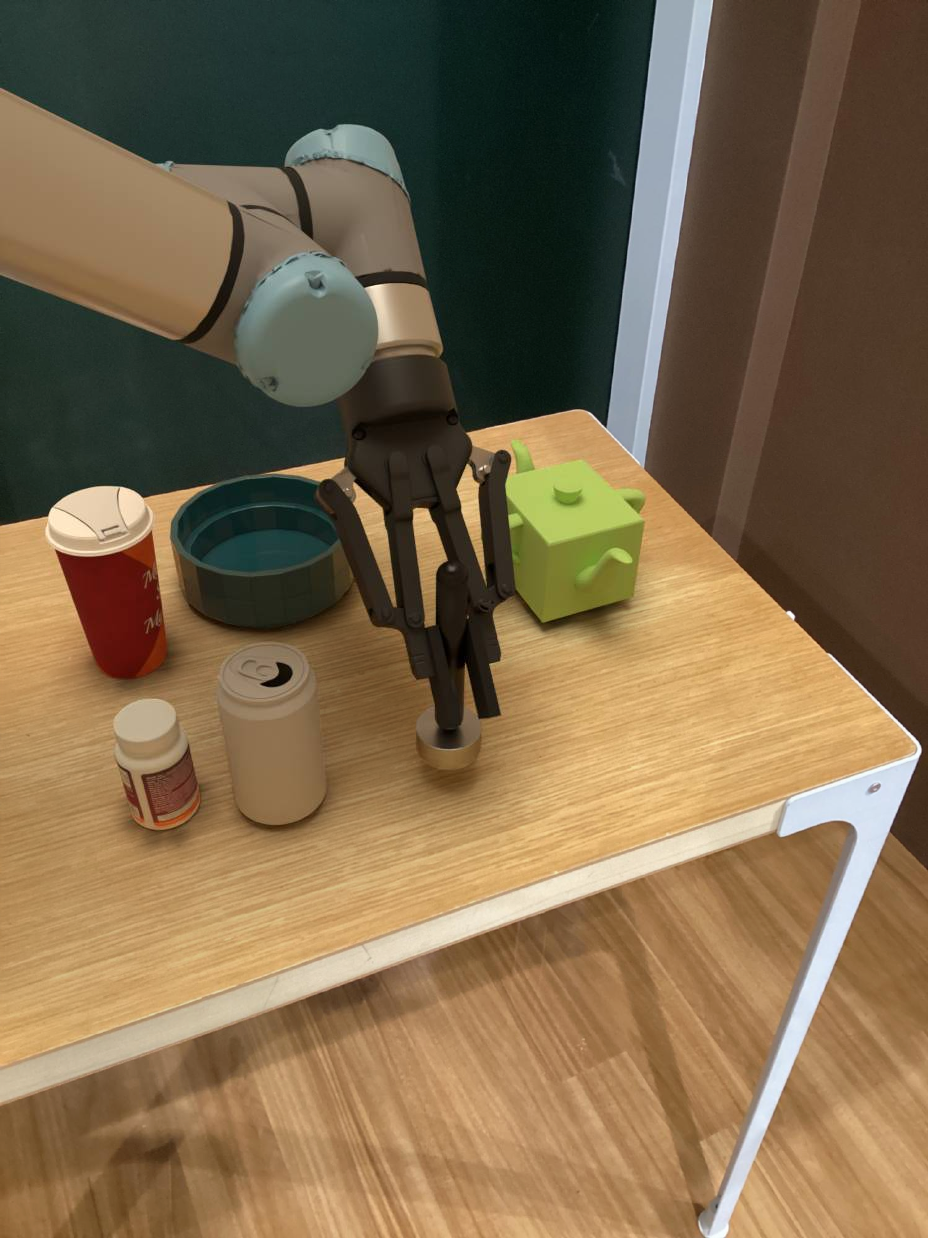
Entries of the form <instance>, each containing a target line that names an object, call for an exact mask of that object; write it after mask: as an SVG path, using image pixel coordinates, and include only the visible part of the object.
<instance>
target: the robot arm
mask: <svg viewBox="0 0 928 1238" xmlns="http://www.w3.org/2000/svg"><path fill="white" fill-rule="evenodd" d="M411 201H412V200H411V198H410V194H409V191H408V190H407V187H406V185H405V181H404V178H403V174H402V170H401V167H400V164H399V162H398V159H397V156H396V154H395V150H394V148H393V147H392V145H391V143H390V142H389V140H388V139H387V138H386V137H385V136H384V135H383V134H382V133H380V132H379V131H376V130H375V129H373V128H371V127H368V126H364V125H360V124H352V123H351V124H350V123H346V124H345V123H344V124H337V125H336V126H335V127H333V128H332V129H324V128H318V129H316V130H313V131H311V132H309V133H307V134H306V135H304V136H302V137H301V138H299V139H297V140H296V142H294V144H293V145H292V146H291V147H290V148H289V150H288V151H287V153H286V156H285V160H284V166H283V167H282V166H281V167H280V166H278V167H269V166H240V165H239V166H238V165H217V164H216V165H213V164H182V163H175V162H174V161H173V160H167V161H165V162H164V163H154V162H151V161H149V160H148V159H145V158H143V157H141V156H139V155H137V154H136V153H133V152H131V151H129V150H127V149H125V148H123V147H121V146H119V145H117V144H115V143H113V142H111V141H109V140H107V139H105V138H102V137H101V136H99V135H97V134H94V133H93V132H92V131H89V130H86V129H84V128H82V127H80V126H79V125H76V124H75V123H72V122H70V121H68V120H67V119H65V118H62V117H60V116H58V115H56V114H55V113H53V112H50V111H48V110H46V109H44V108H43V107H40V106H38V105H36V104H34V103H32V102H30V101H28V100H26V99H24V98H22V97H20V96H18V95H16V94H14V93H12V92H10V91H8V90H6V89H4V88H2V87H0V276H2V277H4V278H8V279H10V280H12V281H16V282H18V283H21V284H23V285H25V286H28V287H32V288H34V289H36V290H39V291H42V292H45V293H47V294H49V295H53V296H55V297H58V298H61V299H63V300H65V301H68V302H71V303H73V304H77V305H78V306H82V307H85V308H87V309H90V310H92V311H95V312H98V313H101V314H103V315H106V316H108V317H110V318H113V319H117V320H119V321H121V322H124V323H127V324H130V325H131V326H134V327H137V328H140V329H143V330H146V331H148V332H151V333H153V334H156V335H158V336H162V337H164V338H167V339H169V340H172V341H175V342H176V343H177V342H178V343H180V344H183V345H185V346H187V347H189V348H192V349H193V350H196V351H199V352H202V353H203V354H207V355H209V356H212V357H215V358H217V359H220V360H222V361H225V362H227V363H230V364H232V365H234V366H237V368H238V370H239V371H240V373H241V375H242V376H243V377H244V378H245V380H246V381H248V382H249V383H251V385H252V386H254V387H255V388H257V389H260V390H261V391H262V392H263V393H264V394H265V395H266V396H268V397H269V398H271V399H272V400H274V401H276V402H279V403H280V404H284V405H287V406H292V407H297V408H304V407H305V408H308V407H309V408H310V407H316V406H320V405H325V404H327V403H330V402H332V401H334V400H336V401H337V406H338V411H339V414H340V415H339V416H340V419H341V423H342V424H341V425H342V428H343V433H344V438H345V442H346V453H345V456H344V457H345V458H344V461H343V468H342V469H341V470H340V471H339V472H337V473H336V474H335V475H334V476H332V477H331V478H325V479H322V480H321V481H320V482H321V483H320V484H319V486H318V488H317V490H316V492H315V495H314V498H315V501H316V503H317V504H318V505H319V506H320V507H321V508H322V510H323V511H324V512H325V513H326V514H327V516H328V517H329V518H330V519H331V520H332V522H333V523H334V526H335V528H336V531H337V534H338V536H339V539H340V542H341V544H342V547H343V550H344V552H345V555H346V558H347V560H348V563H349V566H350V568H351V571H352V574H353V576H354V578H353V580H354V581H355V584H356V587H357V589H358V592H359V595H360V597H361V599H362V603H363V605H364V608H365V611H366V613H367V616H368V619H369V622H370V623H371V625H372V626H373V627H375V628H378V629H379V628H380V629H381V628H385V629H392V630H397V631H398V632H399V633H400V634H401V635H402V637H403V641H404V645H405V649H406V655H407V658H408V663H409V668H410V672H411V675H412V676H413V678H414V679H415V681H416V682H418V681H422V680H427V679H428V683H429V688H430V692H431V696H432V700H433V706H435V710H436V714H437V718H438V723H439V727H440V729H444V728H452V727H456V726H460V725H461V721H460V717H459V712H458V708H457V704H456V699H455V695H454V691H453V686H452V682H451V677H450V673H449V669H448V664H447V660H446V656H445V651H444V647H443V643H442V638H441V634H440V630H439V625H435V624H433V625H428V626H426V625H425V621H426V615H425V607H424V598H423V591H422V583H421V576H420V575H421V574H420V569H419V568H420V567H419V560H418V551H417V544H416V535H415V529H414V510H416V509H426V510H428V513H429V517H430V518H431V521H432V522H433V523H434V525H435V527H436V530H437V533H438V535H439V540H440V542H441V545H442V548H443V551H444V554H445V558H446V561H448V560H456V561H459V562H461V563H462V564H463V565H464V566H465V567H466V569H467V571H468V602H467V632H466V661H465V668H466V671H467V675H468V679H469V684H470V688H471V692H472V696H473V700H474V706H475V710H476V714H477V716H478V719H480V720H485V719H486V720H488V719H492V718H497V717H502V712H501V709H500V708H501V707H500V704H499V699H498V695H497V690H496V687H495V683H494V679H493V673H492V669H491V665H492V664H495V663H500V662H501V658H502V650H501V646H500V642H499V638H498V633H497V629H496V625H495V624H496V623H495V622H494V621H495V619H494V611H495V609H496V608H497V607H498V606H500V605H501V604H502V603H504V602H506V601H507V600H509V599H510V598H512V597H513V596H514V595H515V593H516V588H515V578H514V568H513V558H512V548H511V537H510V527H509V517H508V507H507V497H506V487H505V484H506V480H507V476H509V472H510V468H511V465H512V456H511V454H510V452H509V451H508V450H505V449H498V450H497V451H496V452H493V451H490V450H488V449H484V448H481V447H478V446H475V445H473V441H472V439H471V437H470V435H469V434H468V433H467V432H466V431H465V429H464V428H463V426H462V425H461V423H460V418H459V412H458V408H457V403H456V398H455V395H454V391H453V387H452V381H451V378H450V374H449V373H450V372H449V369H448V365H447V363H446V362H445V361H443V360H442V359H441V358H440V357H441V355H442V353H443V351H444V345H443V343H442V342H443V341H442V338H441V335H440V330H439V326H438V322H437V319H436V315H435V310H434V307H433V303H432V299H431V295H430V291H429V288H428V283H427V277H426V273H425V269H424V264H423V260H422V256H421V255H422V254H421V250H420V246H419V242H418V237H417V234H416V228H415V223H414V220H413V215H412V211H411V210H412V209H411V205H412V203H411ZM467 465H468V466H469V467H470V468H471V473H472V474H471V475H472V479H473V481H474V482H476V484H478V493H477V499H478V501H477V502H478V510H479V521H480V531H481V532H480V534H481V533H482V540H481V542H482V552H483V553H482V554H483V563H484V573H485V578H484V574H483V572H482V571H483V570H482V569H481V566H480V563H479V562H480V561H479V560H478V557H477V553H476V550H475V548H474V545H473V542H472V539H471V536H470V533H469V529H468V526H467V524H466V521H465V518H464V515H463V512H462V502H461V499H460V497H459V496H460V495H459V493H458V490H457V489H458V486H459V483H460V481H461V479H462V477H463V475H464V472H465V470H466V468H467ZM354 484H355V485H357V486H358V488H359V489H361V490H362V491H363V492H364V493H365V494H366V495H368V496H369V498H371V499H372V500H373V501H374V502H375V503H376V504H377V505H378V506H379V507H381V509H382V515H383V523H384V529H385V530H386V534H387V542H388V550H389V557H390V564H391V573H392V582H393V589H394V596H395V602H396V603H395V604H396V606H394V605H393V602H392V599H391V597H390V594H389V591H388V589H387V585H386V583H385V581H384V578H383V575H382V572H381V569H380V567H379V564H378V562H377V559H376V557H375V554H374V551H373V548H372V546H371V543H370V541H369V538H368V535H367V532H366V530H365V528H364V525H363V522H362V519H361V517H360V514H359V512H358V509H357V508H356V506H355V504H354V502H355V501H356V499H357V493H356V491H355V488H354Z"/></svg>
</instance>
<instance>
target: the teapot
mask: <svg viewBox="0 0 928 1238" xmlns="http://www.w3.org/2000/svg"><path fill="white" fill-rule="evenodd" d="M510 446H511V450H512V451H513V454H514V458H515V466H516V471H515V472H516V473H515V474H512V475H508V476H507V480H506V484H505V487H506V497H507V507H508V517H509V527H510V537H511V548H512V558H513V568H514V578H515V588H516V589H515V591H517V593H518V594H519V596H520V597H521V598H522V599H523V600H524V602H525V603H526V604H527V605H528V606H529V608H530V609H531V611H532V612H533V613H534V615H536V616H537V618H538V619H539V621H540V622H541V623H546V622H550V621H553V620H557V619H560V618H564V617H568V616H571V615H574V614H577V613H581V612H585V611H589V610H593V609H596V608H599V607H602V606H606V605H610V604H614V603H617V602H620V601H624V600H627V599H631V598H634V596H635V588H636V582H637V576H638V569H639V563H640V556H641V549H642V542H643V537H644V536H643V535H644V529H645V523H646V521H645V519H644V518H643V517H642V516H641V515H640V513H641V511H642V510H643V508H644V506H645V504H646V495H645V493H643V492H642V491H641V490H640V489H637V488H628V487H627V488H625V487H624V488H615V489H614V488H613V487H612V486H611V485H610V484H609V483H608V482H607V481H606V480H605V479H604V478H603V477H602V476H601V475H600V474H599V473H598V472H597V471H596V470H595V469H593V468H592V467H591V466H590V464H589V463H587V461H585V460H584V459H583V458H580V459H577V460H573V461H568V462H564V463H559V464H555V465H550V466H546V467H541V468H535V465H534V461H533V459H532V456H531V453H530V451H529V449H528V447H527V446H526V445H525V444H524V442H522V441H521V440H519V439H511V440H510ZM480 540H481V541H482V533H481V532H480Z"/></svg>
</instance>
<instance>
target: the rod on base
mask: <svg viewBox="0 0 928 1238" xmlns="http://www.w3.org/2000/svg"><path fill="white" fill-rule="evenodd" d="M467 602H468V571H467V569H466V567H465V566H464V565H463V564H462V563H461V562H459V561H456V560H446V561H444V562H442V563H441V564H440V565H439V566H438V568H437V570H436V571H435V618H434V619H435V622H434V623H435V624H434V625H439V630H440V634H441V638H442V643H443V647H444V651H445V656H446V660H447V664H448V669H449V673H450V677H451V682H452V686H453V691H454V695H455V699H456V704H457V708H458V712H459V717H460V721H461V725H460V726H456V727H452V728H444V729H440V727H439V723H438V718H437V714H436V710H435V705H433V706H430V707H428V708H427V709H424V711H422V712H421V714H419V716H418V718H417V719H416V722H415V750H416V753H417V755H418V756H419V758H420V759H421V761H423V762H424V763H425V764H426V765H428V766H430V767H432V768H434V769H438V770H444V771H454V770H459V769H463V768H466V767H468V766H469V765H472V763H474V761H476V760H477V758H478V757H479V755H480V753H481V750H482V739H483V738H482V737H483V724H482V720H481V719H478V714H477V712H475V711H473V710H472V709H470V708H468V707H467V706H465V690H466V689H465V687H466V663H465V661H466V632H467V618H468V615H467Z"/></svg>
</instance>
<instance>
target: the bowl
mask: <svg viewBox="0 0 928 1238" xmlns="http://www.w3.org/2000/svg"><path fill="white" fill-rule="evenodd" d="M321 482H322V481H318V480H315V479H313V478H308V477H305V476H301V475H297V474H295V475H294V474H284V473H275V472H274V473H261V474H247V475H242V476H239V477H238V476H237V477H235V478H231V479H226V480H222V481H219V482H217V483H214V484H213V485H212V484H211V486H208V487H206V488H203V489H202V490H199V491H197V492H196V493H195V494H194V495H192V496H191V497H190V498H188V499H187V500H186V501H184V503H182V504H181V505H180V506H179V508H178V510H177V511H176V512H175V514H174V516H173V517H172V519H171V521H170V528H169V529H170V530H169V533H170V534H169V540H170V545H171V550H172V554H173V555H172V556H173V560H174V565H175V571H176V575H177V581H178V586H179V589H180V591H181V592H182V595H183V596H184V598H185V600H186V602H187V603H188V604H190V605H191V606H192V607H193V608H195V609H196V610H197V611H198V612H200V613H201V614H202V615H203V616H206V617H209V618H211V619H214V620H217V621H219V622H221V623H225V624H229V625H232V626H237V627H241V628H242V627H243V628H249V629H250V628H251V629H252V628H253V629H258V628H259V629H265V628H277V627H285V626H288V625H292V624H296V623H300V622H302V621H305V620H308V619H310V618H312V617H315V616H317V615H319V614H320V613H322V612H323V611H325V610H327V609H328V608H329V607H332V606H333V605H335V604H336V603H337V602H338V601H339V600H340V599H341V598H342V597H343V596H344V595H345V594H346V593H347V592H348V590H349V589H350V588H351V587H352V583H353V581H354V576H353V574H352V571H351V568H350V566H349V563H348V560H347V558H346V555H345V552H344V550H343V547H342V544H341V542H340V539H339V536H338V534H337V531H336V528H335V526H334V523H333V522H332V520H331V519H330V518H329V517H328V516H327V514H326V513H325V512H324V511H323V510H322V508H321V507H320V506H319V505H318V504H317V503H316V501H315V498H314V495H315V492H316V490H317V488H318V486H319V484H320V483H321Z"/></svg>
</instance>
